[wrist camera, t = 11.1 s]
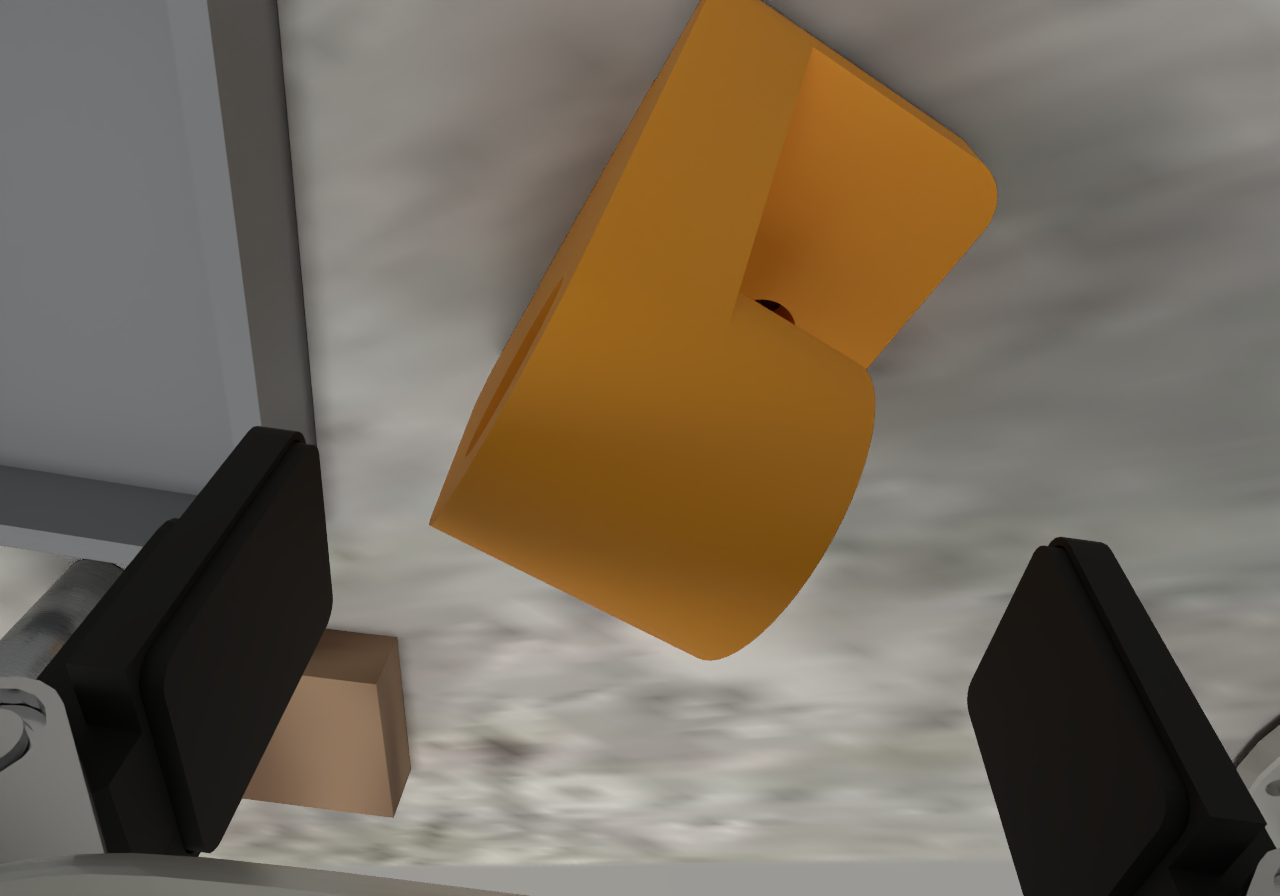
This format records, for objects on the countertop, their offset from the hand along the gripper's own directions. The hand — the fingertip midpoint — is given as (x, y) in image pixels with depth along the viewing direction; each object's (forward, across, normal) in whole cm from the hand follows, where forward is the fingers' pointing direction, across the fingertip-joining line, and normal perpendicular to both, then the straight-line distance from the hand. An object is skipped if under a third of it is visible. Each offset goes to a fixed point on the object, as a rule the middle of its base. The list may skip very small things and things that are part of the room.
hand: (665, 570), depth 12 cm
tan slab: (+13, +12, +19) cm, 26 cm away
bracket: (+12, -1, 0) cm, 12 cm away
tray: (+12, +16, +2) cm, 20 cm away
